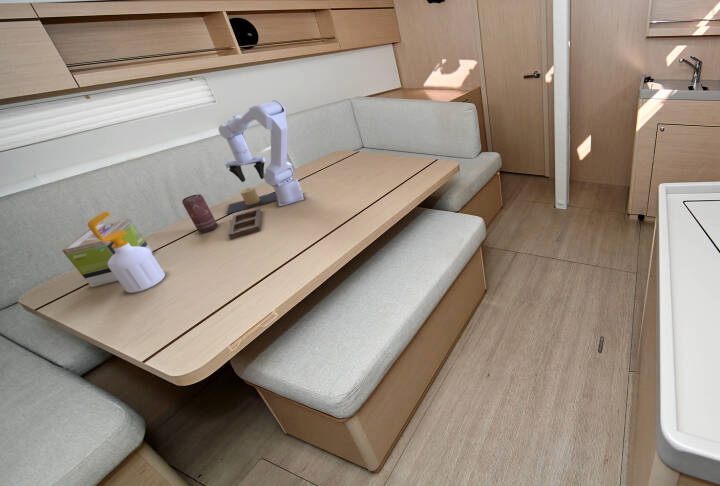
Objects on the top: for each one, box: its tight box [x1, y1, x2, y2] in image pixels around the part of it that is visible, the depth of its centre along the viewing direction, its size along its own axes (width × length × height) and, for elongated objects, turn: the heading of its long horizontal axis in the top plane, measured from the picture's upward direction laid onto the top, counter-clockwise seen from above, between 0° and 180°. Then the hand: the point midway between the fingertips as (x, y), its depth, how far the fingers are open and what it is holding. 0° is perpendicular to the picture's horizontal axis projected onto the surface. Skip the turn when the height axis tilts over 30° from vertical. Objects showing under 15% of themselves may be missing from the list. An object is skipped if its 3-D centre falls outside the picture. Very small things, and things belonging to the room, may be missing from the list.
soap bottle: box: [87, 211, 166, 294], centre depth 103 cm, size 9×9×25 cm
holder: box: [228, 207, 263, 240], centre depth 136 cm, size 9×17×2 cm, turn 32°
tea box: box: [61, 217, 154, 288], centre depth 113 cm, size 15×10×15 cm, turn 22°
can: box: [181, 193, 218, 234], centre depth 134 cm, size 6×6×14 cm
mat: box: [226, 191, 278, 215], centre depth 154 cm, size 18×10×1 cm, turn 122°
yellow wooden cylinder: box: [239, 187, 260, 205], centre depth 153 cm, size 5×5×6 cm
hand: (253, 179), depth 154 cm, fingers open, 7 cm apart
